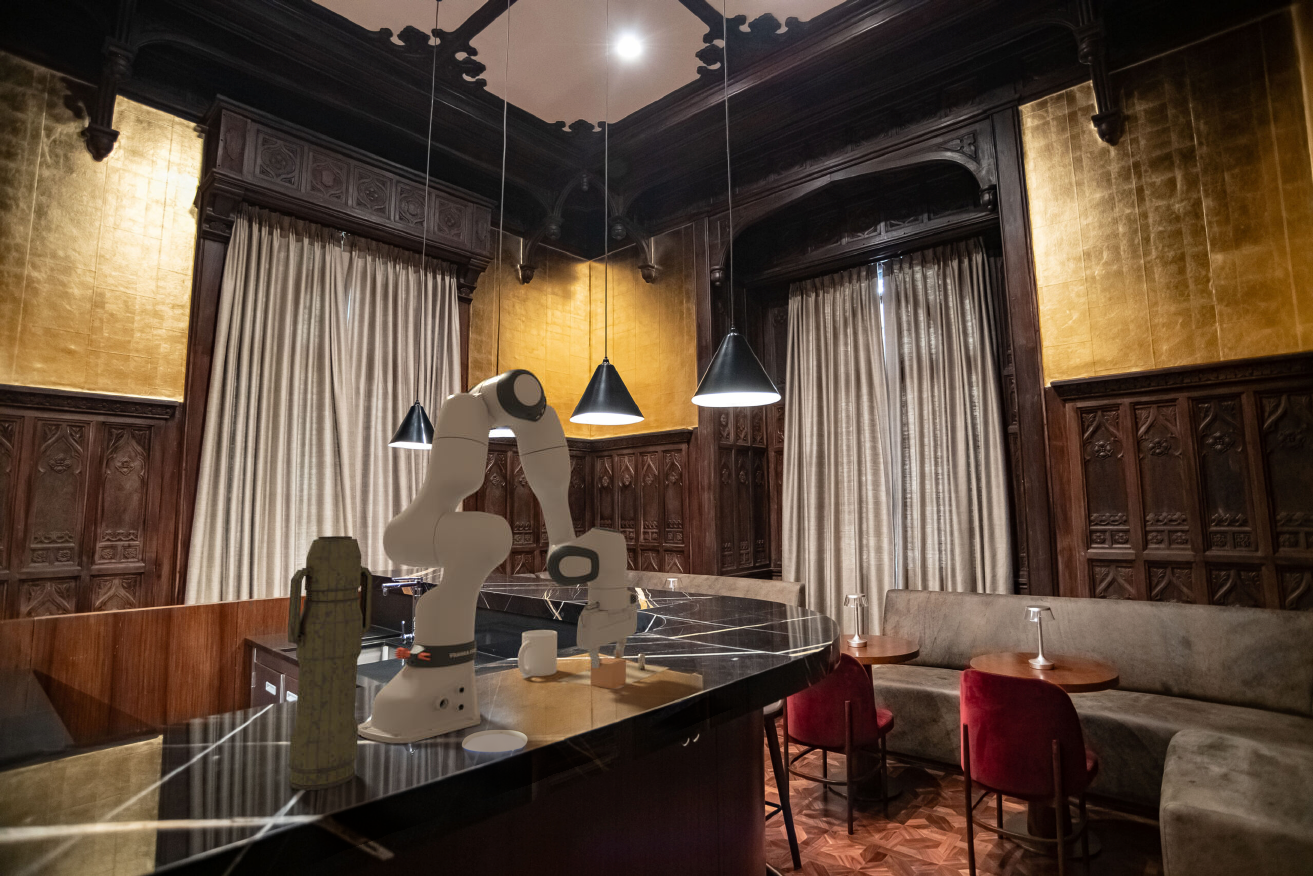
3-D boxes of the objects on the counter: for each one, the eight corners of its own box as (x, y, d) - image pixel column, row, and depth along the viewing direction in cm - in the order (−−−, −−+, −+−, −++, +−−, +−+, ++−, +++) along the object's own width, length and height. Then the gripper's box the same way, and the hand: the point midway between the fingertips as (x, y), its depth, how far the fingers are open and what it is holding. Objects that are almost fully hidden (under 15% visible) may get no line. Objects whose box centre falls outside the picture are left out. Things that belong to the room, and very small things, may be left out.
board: (616, 695, 145) (616, 689, 145) (556, 686, 153) (556, 680, 153) (669, 672, 166) (669, 667, 166) (614, 665, 173) (614, 661, 174)
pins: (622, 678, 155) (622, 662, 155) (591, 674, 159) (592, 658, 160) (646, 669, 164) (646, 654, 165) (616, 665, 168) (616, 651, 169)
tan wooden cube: (612, 688, 146) (612, 664, 146) (590, 685, 149) (590, 661, 149) (625, 683, 151) (625, 659, 151) (604, 680, 153) (605, 657, 154)
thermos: (377, 771, 102) (388, 536, 106) (302, 799, 92) (317, 538, 96) (340, 760, 106) (352, 535, 110) (265, 786, 96) (281, 537, 100)
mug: (532, 686, 153) (533, 639, 154) (503, 682, 156) (504, 636, 158) (563, 675, 163) (563, 631, 164) (535, 671, 167) (536, 629, 168)
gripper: (594, 607, 142) (594, 674, 141) (641, 594, 160) (642, 654, 159) (569, 605, 145) (569, 671, 144) (618, 593, 163) (618, 652, 162)
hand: (607, 662), depth 151 cm, fingers open, 8 cm apart
